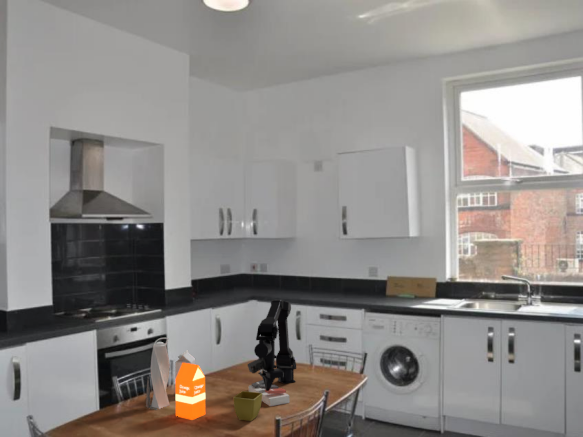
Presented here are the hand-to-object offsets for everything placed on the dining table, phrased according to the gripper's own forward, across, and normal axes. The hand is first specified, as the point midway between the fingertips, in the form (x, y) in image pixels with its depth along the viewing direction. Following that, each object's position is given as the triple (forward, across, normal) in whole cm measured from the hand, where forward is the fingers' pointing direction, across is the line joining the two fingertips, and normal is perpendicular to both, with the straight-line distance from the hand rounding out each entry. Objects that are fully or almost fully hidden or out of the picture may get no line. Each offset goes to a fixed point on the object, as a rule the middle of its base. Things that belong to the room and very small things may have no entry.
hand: (267, 390), depth 221 cm
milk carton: (+6, -29, -26) cm, 40 cm away
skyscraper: (+6, -19, -40) cm, 45 cm away
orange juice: (+6, -2, -32) cm, 33 cm away
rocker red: (+1, 0, +4) cm, 4 cm away
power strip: (+5, -10, +4) cm, 12 cm away
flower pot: (+6, +13, -14) cm, 20 cm away
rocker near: (+1, -14, +4) cm, 14 cm away
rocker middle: (+1, -7, +4) cm, 8 cm away
